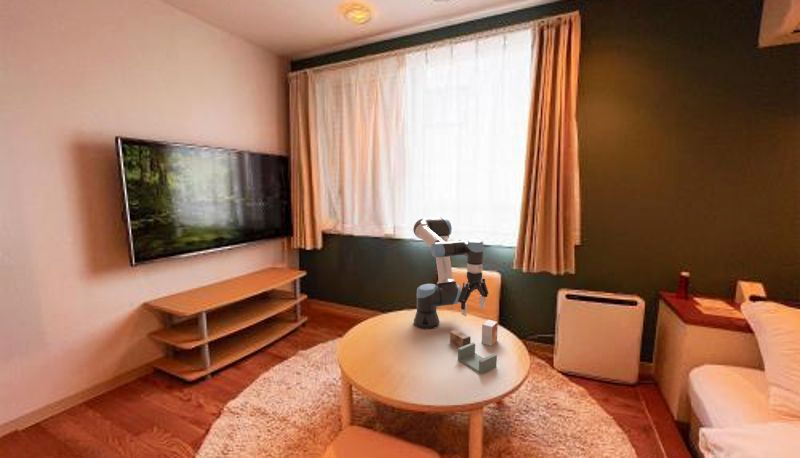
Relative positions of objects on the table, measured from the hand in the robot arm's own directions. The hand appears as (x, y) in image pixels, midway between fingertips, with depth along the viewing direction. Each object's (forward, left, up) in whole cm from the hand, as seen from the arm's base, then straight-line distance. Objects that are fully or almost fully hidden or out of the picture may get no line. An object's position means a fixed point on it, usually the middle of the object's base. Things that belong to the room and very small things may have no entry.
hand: (473, 311), depth 166 cm
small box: (+2, +11, -19) cm, 22 cm away
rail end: (-5, -4, -19) cm, 20 cm away
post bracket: (+12, -10, -19) cm, 25 cm away
